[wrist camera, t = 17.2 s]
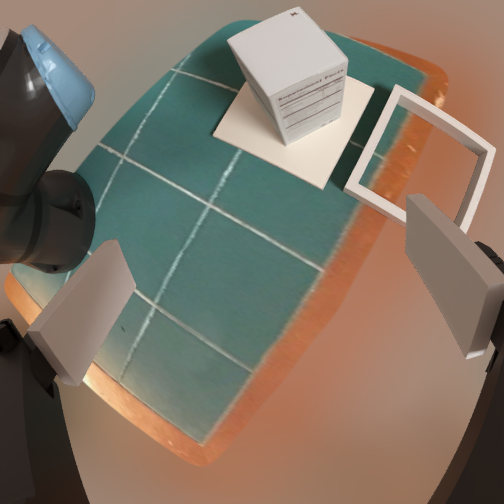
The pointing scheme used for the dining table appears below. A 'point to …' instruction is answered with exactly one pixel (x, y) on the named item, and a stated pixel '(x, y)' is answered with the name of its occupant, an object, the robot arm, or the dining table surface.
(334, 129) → the cream coaster
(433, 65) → the dining table surface
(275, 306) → the dining table surface
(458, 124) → the white square frame
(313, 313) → the dining table surface
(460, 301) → the robot arm
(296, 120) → the supplement box
